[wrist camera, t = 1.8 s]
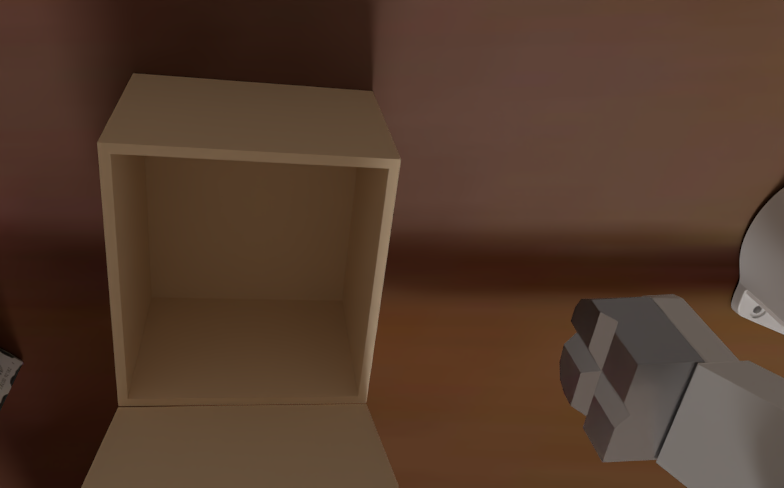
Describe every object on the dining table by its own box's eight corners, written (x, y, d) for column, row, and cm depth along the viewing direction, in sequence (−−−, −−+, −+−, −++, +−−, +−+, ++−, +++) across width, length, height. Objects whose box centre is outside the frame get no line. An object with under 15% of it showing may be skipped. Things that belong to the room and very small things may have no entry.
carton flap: (34, 588, 28) (34, 602, 28) (429, 565, 31) (428, 577, 31) (118, 407, 45) (118, 416, 45) (366, 404, 49) (365, 412, 49)
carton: (133, 73, 47) (97, 142, 37) (372, 91, 50) (400, 159, 40) (144, 299, 56) (118, 406, 45) (347, 302, 59) (366, 403, 49)
